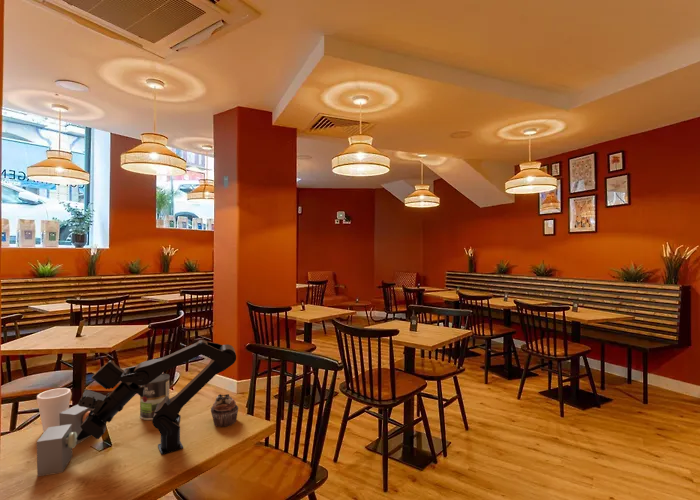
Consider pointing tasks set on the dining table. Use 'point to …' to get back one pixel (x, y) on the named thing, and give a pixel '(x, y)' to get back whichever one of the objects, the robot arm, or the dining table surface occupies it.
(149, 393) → the coffee can
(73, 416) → the right button box
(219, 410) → the cupcake
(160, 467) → the dining table surface
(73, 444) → the sage button
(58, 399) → the foam cup
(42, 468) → the left button box
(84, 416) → the terracotta button
